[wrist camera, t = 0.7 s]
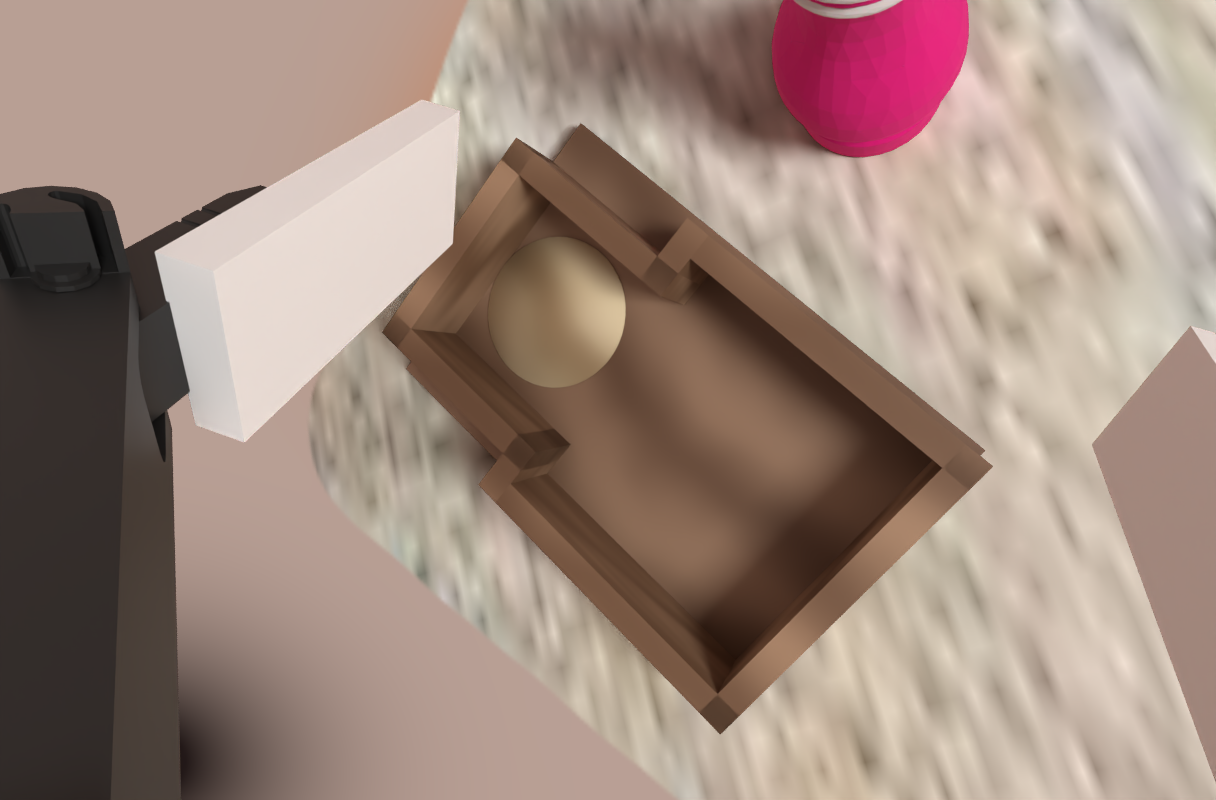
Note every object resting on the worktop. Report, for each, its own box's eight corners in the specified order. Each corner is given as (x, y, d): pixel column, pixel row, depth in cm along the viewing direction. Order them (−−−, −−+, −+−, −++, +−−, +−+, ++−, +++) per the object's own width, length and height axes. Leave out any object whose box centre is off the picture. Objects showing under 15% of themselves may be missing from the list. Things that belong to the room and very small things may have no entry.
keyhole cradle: (588, 129, 38) (546, 94, 33) (982, 448, 32) (999, 460, 27) (416, 369, 42) (357, 367, 37) (738, 691, 36) (715, 739, 31)
